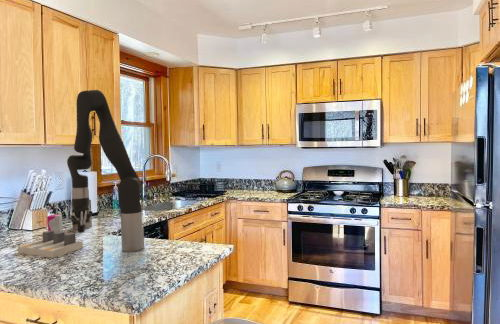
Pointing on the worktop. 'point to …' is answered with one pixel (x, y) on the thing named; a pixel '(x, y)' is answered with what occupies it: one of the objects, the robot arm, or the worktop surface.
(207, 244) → the worktop surface
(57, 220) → the supplement box
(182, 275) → the worktop surface
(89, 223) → the coffee box
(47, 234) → the tab
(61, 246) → the switch panel
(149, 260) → the worktop surface
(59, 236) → the tab
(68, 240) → the tab
